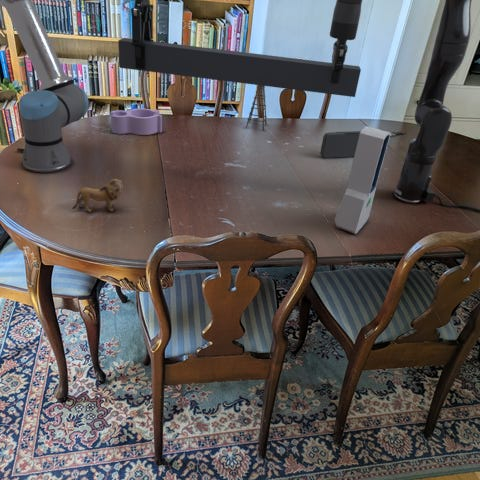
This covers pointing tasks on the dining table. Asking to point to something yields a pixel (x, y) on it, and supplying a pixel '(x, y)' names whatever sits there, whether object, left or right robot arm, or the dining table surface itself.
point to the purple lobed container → (136, 121)
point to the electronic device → (362, 179)
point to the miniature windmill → (258, 108)
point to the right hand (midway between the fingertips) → (333, 80)
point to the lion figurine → (100, 194)
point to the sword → (396, 133)
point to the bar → (241, 67)
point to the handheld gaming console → (339, 144)
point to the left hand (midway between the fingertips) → (143, 66)
